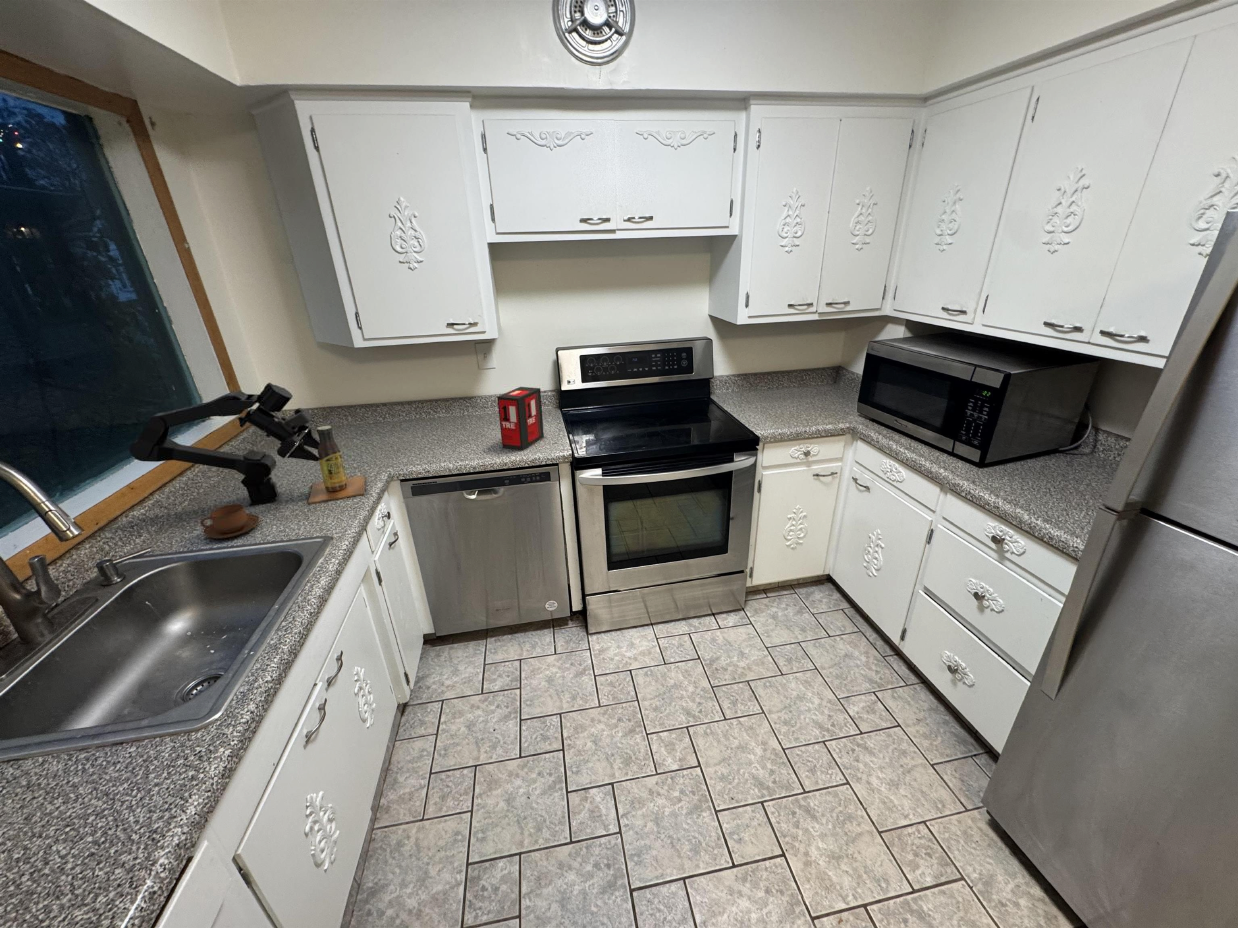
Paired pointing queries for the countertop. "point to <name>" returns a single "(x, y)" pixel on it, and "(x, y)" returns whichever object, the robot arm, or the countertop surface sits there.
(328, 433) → the sauce bottle
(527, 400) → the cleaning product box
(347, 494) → the cork mat
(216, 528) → the cup and saucer
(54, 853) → the countertop surface
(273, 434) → the robot arm
